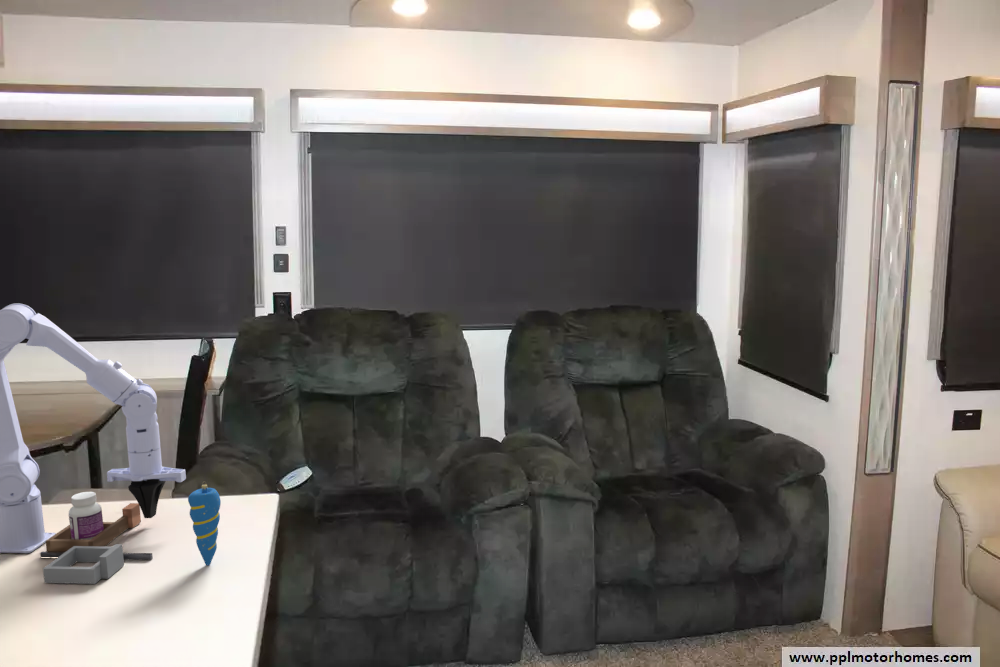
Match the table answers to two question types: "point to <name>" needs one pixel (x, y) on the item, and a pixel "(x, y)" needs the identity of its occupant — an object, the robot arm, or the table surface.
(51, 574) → the gray rectangular frame
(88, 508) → the pill bottle
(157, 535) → the table surface
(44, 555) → the rail
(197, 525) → the ornament
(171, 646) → the table surface
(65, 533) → the frame
